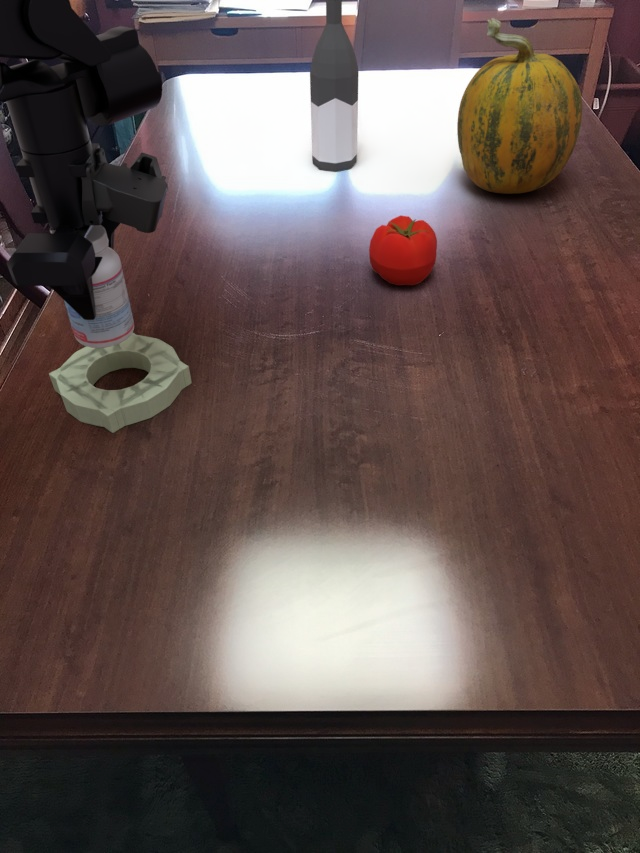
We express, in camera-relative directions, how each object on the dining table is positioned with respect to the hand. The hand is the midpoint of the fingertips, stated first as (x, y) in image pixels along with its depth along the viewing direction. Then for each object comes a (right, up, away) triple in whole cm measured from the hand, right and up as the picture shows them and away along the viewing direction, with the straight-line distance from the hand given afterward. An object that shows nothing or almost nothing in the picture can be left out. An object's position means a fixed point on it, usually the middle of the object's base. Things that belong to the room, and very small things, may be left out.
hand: (98, 301), depth 69 cm
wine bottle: (+25, +35, +56) cm, 71 cm away
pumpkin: (+54, +28, +48) cm, 77 cm away
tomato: (+34, +8, +27) cm, 44 cm away
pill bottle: (0, -3, +3) cm, 4 cm away
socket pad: (0, -8, +10) cm, 13 cm away
